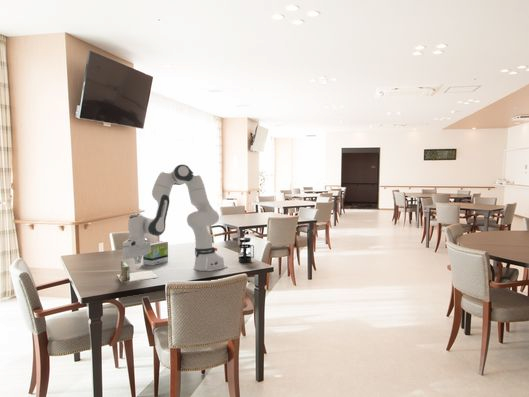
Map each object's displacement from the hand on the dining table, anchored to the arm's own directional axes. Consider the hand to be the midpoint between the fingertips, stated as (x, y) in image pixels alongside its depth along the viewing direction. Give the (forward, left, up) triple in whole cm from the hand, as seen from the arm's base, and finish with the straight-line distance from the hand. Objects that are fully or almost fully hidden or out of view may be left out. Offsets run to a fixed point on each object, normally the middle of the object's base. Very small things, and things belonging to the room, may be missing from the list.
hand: (138, 263), depth 226 cm
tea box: (-19, -34, -9) cm, 40 cm away
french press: (-75, -2, -9) cm, 75 cm away
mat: (0, -3, -9) cm, 9 cm away
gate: (+7, 0, -8) cm, 11 cm away
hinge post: (+7, -10, -9) cm, 15 cm away
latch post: (+9, +5, -9) cm, 14 cm away
